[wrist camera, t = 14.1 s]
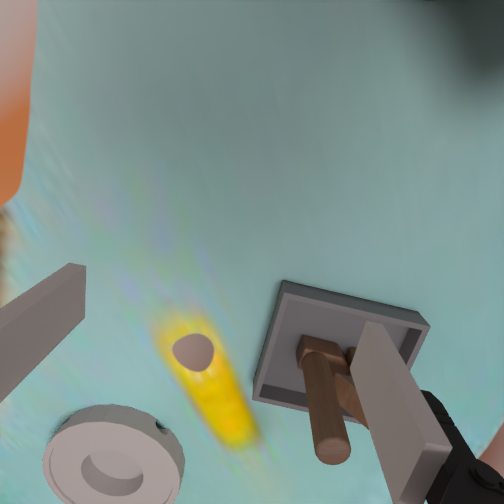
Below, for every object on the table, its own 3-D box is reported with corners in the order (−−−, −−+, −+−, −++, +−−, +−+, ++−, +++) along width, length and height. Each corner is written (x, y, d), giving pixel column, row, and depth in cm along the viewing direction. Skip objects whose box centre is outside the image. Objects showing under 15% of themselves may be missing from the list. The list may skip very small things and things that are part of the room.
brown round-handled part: (363, 371, 52) (410, 486, 35) (294, 353, 52) (308, 462, 35) (372, 351, 51) (425, 460, 34) (302, 333, 51) (320, 435, 34)
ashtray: (187, 505, 65) (183, 527, 61) (66, 497, 66) (54, 520, 62) (182, 406, 58) (176, 425, 54) (45, 399, 58) (30, 417, 55)
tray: (282, 280, 49) (284, 292, 45) (418, 311, 50) (430, 326, 46) (253, 381, 55) (252, 399, 51) (374, 408, 56) (382, 428, 52)
